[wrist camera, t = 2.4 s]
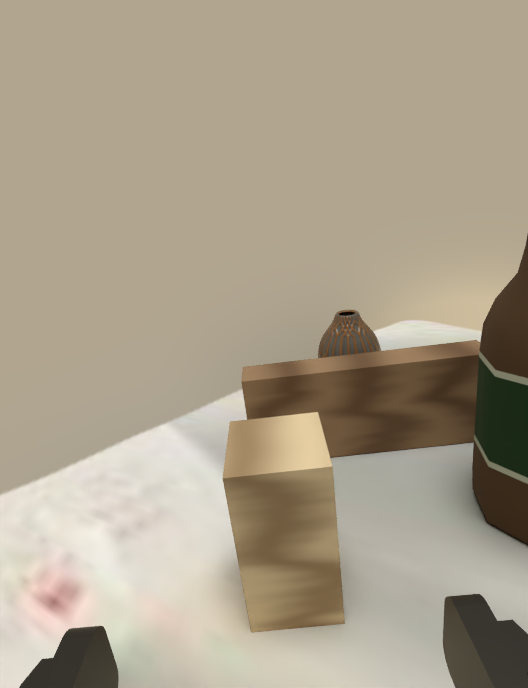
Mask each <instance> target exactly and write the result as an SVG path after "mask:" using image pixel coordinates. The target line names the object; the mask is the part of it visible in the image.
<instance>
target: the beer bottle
mask: <svg viewBox="0 0 528 688" xmlns="http://www.w3.org/2000/svg"><path fill="white" fill-rule="evenodd" d="M472 470H473V490H474V492H475V495H476V497H477V499H478V502H479V504H480V506H481V508H482V511H483V513H484V515H485V518H486V520H487V522H488V523H489V524H491V525H493V526H495V527H497V528H499V529H500V530H502V531H504V532H506V533H508V534H509V535H511V536H513V537H515V538H517V539H519V540H520V541H522V542H524V543H526V544H528V236H527V242H526V247H525V250H524V254H523V257H522V260H521V263H520V267H519V270H518V273H517V274H516V275H515V277H514V278H513V279H512V280H511V281H510V282H509V283H508V285H507V286H506V287H505V288H504V289H503V290H502V292H501V293H500V294H499V295H498V296H497V298H496V299H495V301H494V303H493V305H492V307H491V309H490V311H489V313H488V315H487V317H486V319H485V321H484V323H483V329H482V336H481V343H480V349H479V364H478V381H477V398H476V415H475V433H474V450H473V467H472Z"/></svg>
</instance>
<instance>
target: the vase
mask: <svg viewBox="0 0 528 688" xmlns="http://www.w3.org/2000/svg"><path fill="white" fill-rule="evenodd" d="M378 351H381V349H380V345H379V342H378V340H377V337H376V336H375V334H374V333H373V331H372V330H371V329H370V328H369V327H368V326H367V325H366V324H365V322H364V321H363V320H362V319H361V317H360V315H359V313H358V312H357V311H355V310H343V311H339V312H337V313H336V315H335V318H334V320H333V322H332V324H331V325H330V326H329V328H328V330H327V331H326V332H325V333H324V335H323V337H322V339H321V342H320V345H319V351H318V358H325V357H334V356H343V355H351V354H360V353H369V352H378Z"/></svg>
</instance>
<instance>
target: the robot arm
mask: <svg viewBox="0 0 528 688" xmlns="http://www.w3.org/2000/svg"><path fill="white" fill-rule="evenodd" d="M443 648H444V654H445V659H446V662H447V666H448V669H449V672H450V675H451V678H452V680H453V683H454V685H455V688H528V634H527V633H526V632H525V631H524V630H523V629H522V628H521V627H520V626H518V625H517V624H516V623H515V622H514V621H513V620H505V621H497V620H496V618H495V616H494V614H493V613H492V611H491V609H490V607H489V605H488V604H487V602H486V600H485V599H484V598H483V597H482V596H481V595H480V594H472V595H460V596H449V597H446V598H445V606H444V629H443ZM20 688H118V669H117V665H116V662H115V659H114V656H113V653H112V650H111V646H110V643H109V640H108V637H107V634H106V631H105V629H104V627H103V626H94V627H83V628H71V629H69V630H68V631H67V632H66V633H65V634H64V636H63V638H62V640H61V642H60V644H59V647H58V649H57V651H56V653H55V655H54V658H49V659H42V660H41V661H40V662H39V663H38V665H37V666H36V667H35V668H34V669H33V671H32V672H31V673H30V674H29V676H28V677H27V678H26V679H25V680H24V682H23V683H22V684H21V685H20Z"/></svg>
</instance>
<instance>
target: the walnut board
mask: <svg viewBox="0 0 528 688" xmlns="http://www.w3.org/2000/svg"><path fill="white" fill-rule="evenodd" d="M479 349H480V342H478V341H477V340H473V341H464V342H456V343H447V344H438V345H430V346H421V347H412V348H404V349H395V350H386V351H378V352H369V353H360V354H351V355H343V356H334V357H325V358H317V359H308V360H299V361H291V362H282V363H274V364H265V365H256V366H248V367H243V372H242V388H243V394H244V401H245V408H246V414H247V420H250V419H259V418H268V417H277V416H286V415H295V414H304V413H313V412H318V414H319V418H320V422H321V425H322V429H323V433H324V437H325V440H326V444H327V448H328V452H329V455H330V457H339V456H348V455H357V454H367V453H376V452H385V451H394V450H404V449H413V448H422V447H432V446H441V445H450V444H459V443H469V442H474V433H475V415H476V398H477V381H478V364H479Z"/></svg>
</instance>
